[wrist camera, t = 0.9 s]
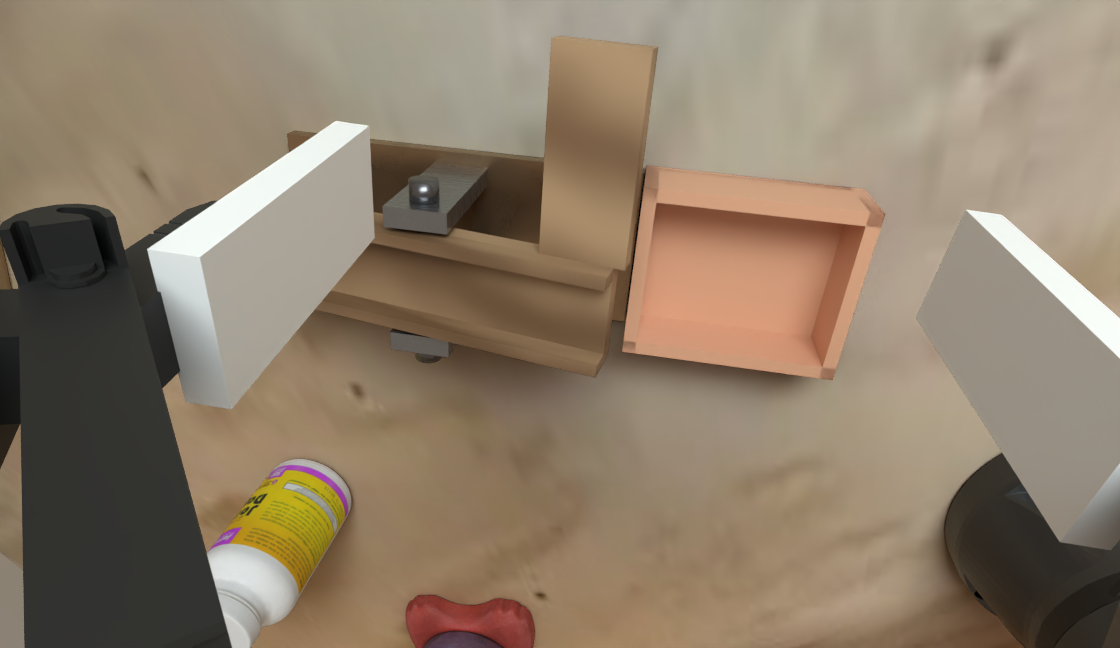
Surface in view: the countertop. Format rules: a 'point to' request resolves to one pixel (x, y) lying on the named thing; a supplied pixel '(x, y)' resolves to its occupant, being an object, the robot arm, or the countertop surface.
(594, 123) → the lever
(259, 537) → the supplement bottle
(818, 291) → the dish
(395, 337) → the lever stand
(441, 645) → the stacking bear
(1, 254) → the paper package
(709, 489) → the countertop surface
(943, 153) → the countertop surface
